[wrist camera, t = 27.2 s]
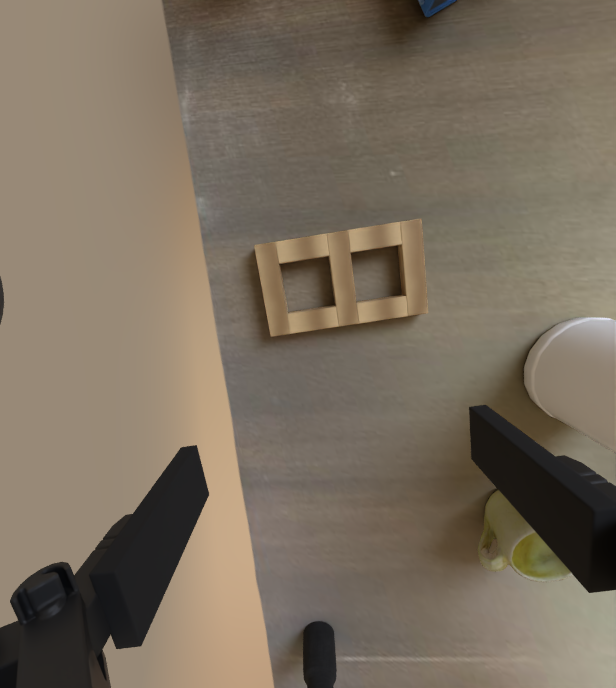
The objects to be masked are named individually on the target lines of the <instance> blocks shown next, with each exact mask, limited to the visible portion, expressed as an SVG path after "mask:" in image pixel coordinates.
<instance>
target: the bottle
mask: <svg viewBox="0 0 616 688" xmlns="http://www.w3.org/2000/svg"><path fill="white" fill-rule="evenodd" d="M524 384H525V387H526V389H527V391H528V394H529V396H530V398H531V400H532V401H533V402H534V403H536V404H537V405H538V406H539V407H540V408H541V409H542V410H543V411H544V412H545V413H547V414H548V415H549V416H551V417H553V418H556V419H558V420H560V421H562V422H563V423H565V424H567V425H568V426H570V427H572V428H573V429H575V430H577V431H578V432H580V433H582V434H583V435H585V436H587V437H588V438H590V439H592V440H593V441H595V442H597V443H598V444H600V445H602V446H604V447H605V448H607V449H609V450H610V451H612V452H614V453H616V320H612V319H610V318H575V319H571V320H568V321H565V322H562V323H559V324H557V325H556V326H554V327H553V328H551V329H550V330H548V331H547V332H546V333H544V334H543V335H542V336H541V337H540V338H539V339H538V341H537V342H536V343H535V345H534V346H533V347H532V348H531V350H530V352H529V355H528V357H527V360H526V363H525V366H524Z"/></svg>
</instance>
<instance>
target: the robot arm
mask: <svg viewBox="0 0 616 688" xmlns="http://www.w3.org/2000/svg"><path fill="white" fill-rule="evenodd" d="M469 414H470V436H471V459H472V460H473V461H474V462H475V464H476V465H477V466H478V467H479V468H480V469H481V470H482V472H483V473H484V474H485V475H486V476H487V477H488V478H489V479H490V481H491V482H492V483H493V484H494V485H495V486H496V487H497V489H498V490H499V491H500V492H501V493H502V494H503V495H504V497H505V498H506V499H507V500H508V501H509V502H510V503H511V505H512V506H513V507H514V508H515V509H516V510H517V511H518V513H519V514H520V515H521V516H522V517H523V518H524V519H525V520H526V522H527V523H528V524H529V525H530V526H531V527H532V528H533V530H534V531H535V532H536V533H537V534H538V535H539V536H540V538H541V539H542V540H543V541H544V542H545V543H546V544H547V546H548V547H549V548H550V549H551V550H552V551H553V552H554V553H555V555H556V556H557V557H558V558H559V559H560V560H561V561H562V563H563V564H564V565H565V566H566V567H567V568H568V569H569V571H570V572H571V573H572V574H573V575H574V576H575V577H576V579H577V580H578V581H579V582H580V583H581V584H582V585H583V587H584V588H585V589H586V590H587V591H588V592H589V593H593V592H601V591H610V590H616V486H615V485H613V484H612V483H610V482H609V483H608V482H607V480H606V479H604V478H603V477H602V476H600V475H599V474H596V472H594V471H593V470H591V469H590V468H589V467H587V466H586V465H584V464H583V463H581V462H579V461H576V460H574V459H572V458H569V457H567V456H565V455H564V456H557V457H555V456H554V455H553V454H551V453H550V452H548V451H547V450H546V449H544V448H543V447H542V446H540V445H539V444H538V443H536V442H535V441H534V440H532V439H531V438H530V437H528V436H527V435H526V434H524V433H523V432H522V431H520V430H519V429H518V428H516V427H515V426H513V425H512V424H511V423H509V422H508V421H507V420H505V419H504V418H503V417H501V416H500V415H499V414H497V413H496V412H495V411H493V410H492V409H491V408H489V407H488V406H487V405H481V406H473V407H469ZM208 496H209V492H208V488H207V484H206V480H205V477H204V472H203V468H202V464H201V461H200V456H199V453H198V448H197V445H195V446H187V447H182V448H180V450H179V451H178V453H177V454H176V455H175V457H174V458H173V460H172V461H171V462H170V464H169V465H168V466H167V468H166V469H165V470H164V472H163V473H162V475H161V476H160V477H159V479H158V480H157V481H156V483H155V484H154V486H153V487H152V488H151V490H150V491H149V492H148V494H147V495H146V497H145V498H144V499H143V501H142V502H141V503H140V505H139V506H138V508H137V509H136V510H135V512H134V513H133V514H129V515H125V516H124V517H123V518H122V519H120V520H119V521H118V522H117V523H116V524H114V525H113V526H112V527H111V529H110V530H109V531H108V532H107V534H106V535H105V537H104V538H103V540H102V541H101V542H100V543H99V544H98V545H97V547H96V548H95V550H94V551H93V552H92V553H91V554H90V556H89V557H88V559H87V560H86V561H85V562H84V563H83V565H82V566H81V568H80V569H79V570H78V571H77V573H76V574H75V575H73V572H72V569H71V567H70V565H69V564H68V563H65V562H59V563H54V564H51V565H49V566H47V567H44V568H42V569H41V570H39V571H37V572H36V573H34V574H33V575H31V576H30V577H29V578H27V579H26V580H25V581H24V582H23V583H22V584H20V586H19V587H18V588H17V590H16V591H15V592H14V593H13V595H12V597H11V600H10V603H11V605H12V607H13V609H14V612H15V614H16V616H17V618H18V621H16V622H13V623H11V624H8V625H6V626H3V627H1V628H0V688H111V686H110V680H109V675H108V669H107V663H106V658H105V655H104V652H103V650H102V649H103V647H104V645H105V644H106V642H107V640H108V638H109V636H110V635H111V636H112V639H113V641H114V644H115V647H116V649H122V648H130V647H138V646H141V645H142V643H143V641H144V639H145V637H146V634H147V632H148V630H149V628H150V625H151V623H152V621H153V619H154V616H155V614H156V612H157V610H158V607H159V605H160V603H161V601H162V599H163V596H164V594H165V592H166V590H167V587H168V585H169V583H170V580H171V578H172V576H173V574H174V572H175V569H176V567H177V565H178V563H179V560H180V558H181V556H182V554H183V552H184V549H185V547H186V545H187V543H188V540H189V538H190V536H191V533H192V531H193V529H194V527H195V525H196V523H197V520H198V518H199V516H200V513H201V511H202V509H203V507H204V504H205V502H206V500H207V498H208Z"/></svg>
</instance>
